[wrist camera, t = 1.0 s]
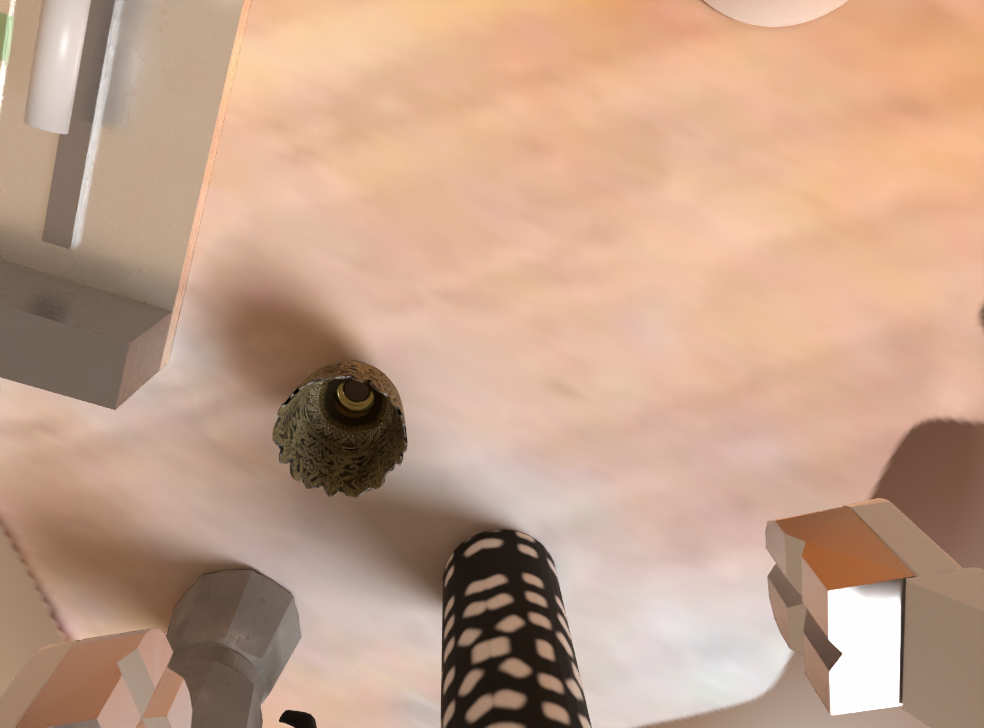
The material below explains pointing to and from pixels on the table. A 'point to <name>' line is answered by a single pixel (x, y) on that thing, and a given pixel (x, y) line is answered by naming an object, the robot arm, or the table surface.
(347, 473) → the cup
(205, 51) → the gauge base
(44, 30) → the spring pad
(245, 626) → the coffeepot
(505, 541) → the spotted tube
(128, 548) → the table surface
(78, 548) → the table surface
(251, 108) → the table surface
